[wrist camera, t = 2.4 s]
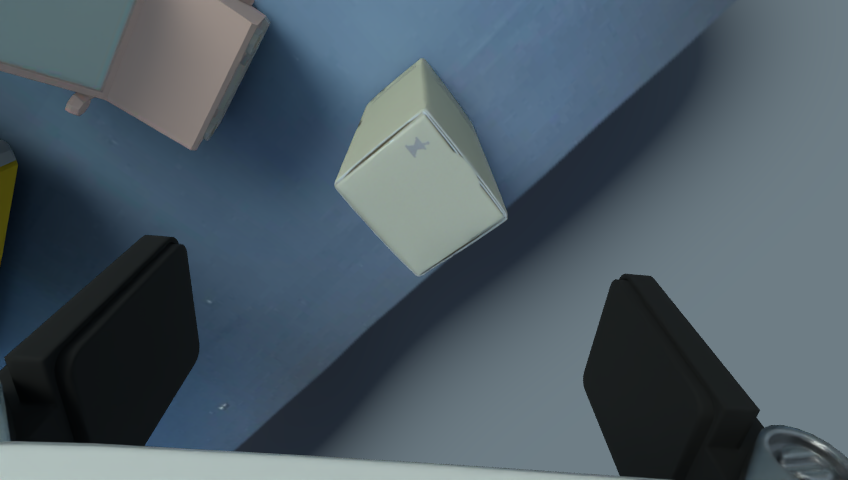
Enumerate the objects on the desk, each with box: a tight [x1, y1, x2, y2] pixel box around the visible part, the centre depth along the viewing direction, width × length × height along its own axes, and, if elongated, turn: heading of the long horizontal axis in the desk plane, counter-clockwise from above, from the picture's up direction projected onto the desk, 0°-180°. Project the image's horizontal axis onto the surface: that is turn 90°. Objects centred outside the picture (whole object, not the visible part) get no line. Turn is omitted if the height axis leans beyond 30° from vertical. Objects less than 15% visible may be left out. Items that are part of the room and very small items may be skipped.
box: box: [335, 58, 508, 276], centre depth 23 cm, size 5×4×13 cm
